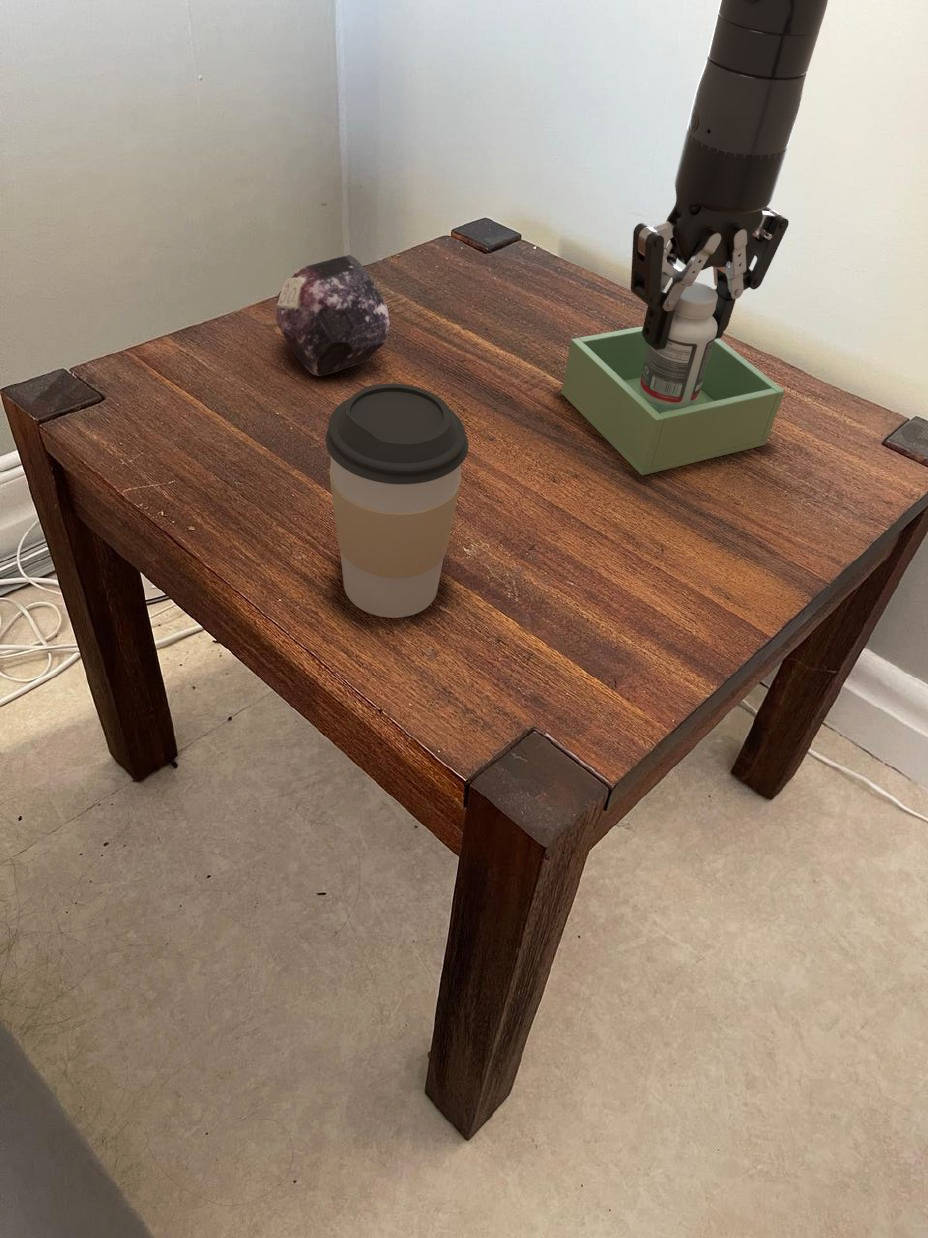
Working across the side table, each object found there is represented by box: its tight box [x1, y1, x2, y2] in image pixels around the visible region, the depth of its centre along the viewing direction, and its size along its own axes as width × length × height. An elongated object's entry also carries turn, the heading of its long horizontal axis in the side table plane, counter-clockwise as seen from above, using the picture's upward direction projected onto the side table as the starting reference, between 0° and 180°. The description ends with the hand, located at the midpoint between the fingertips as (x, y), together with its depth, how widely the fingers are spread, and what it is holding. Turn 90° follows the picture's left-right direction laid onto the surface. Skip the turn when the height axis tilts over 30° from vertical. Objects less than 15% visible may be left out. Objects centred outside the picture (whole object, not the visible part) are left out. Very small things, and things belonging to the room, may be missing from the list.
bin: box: [560, 325, 786, 476], centre depth 87 cm, size 14×14×6 cm
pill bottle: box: [639, 281, 718, 409], centre depth 84 cm, size 5×5×10 cm
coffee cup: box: [324, 383, 469, 619], centre depth 65 cm, size 9×9×15 cm
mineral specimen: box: [275, 254, 390, 377], centre depth 88 cm, size 10×10×10 cm
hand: (682, 339), depth 83 cm, fingers closed on pill bottle, 5 cm apart
